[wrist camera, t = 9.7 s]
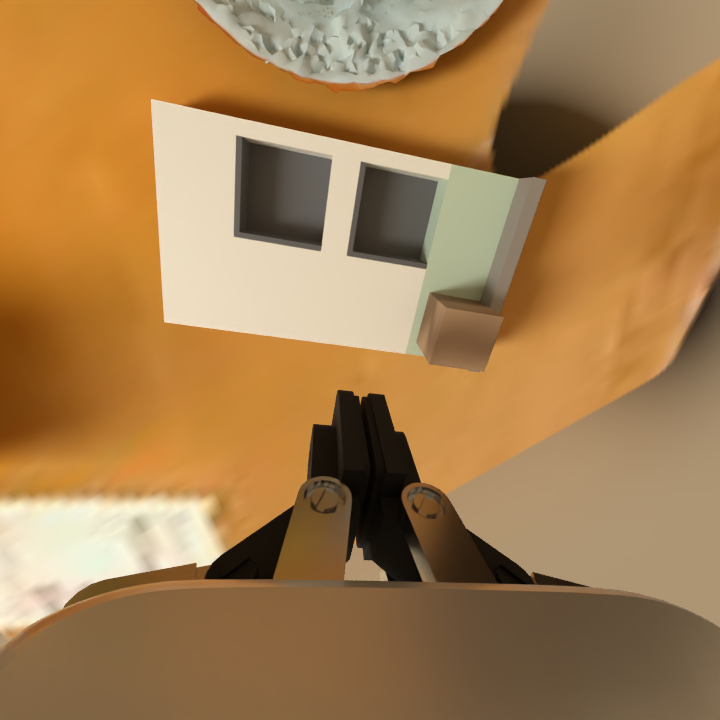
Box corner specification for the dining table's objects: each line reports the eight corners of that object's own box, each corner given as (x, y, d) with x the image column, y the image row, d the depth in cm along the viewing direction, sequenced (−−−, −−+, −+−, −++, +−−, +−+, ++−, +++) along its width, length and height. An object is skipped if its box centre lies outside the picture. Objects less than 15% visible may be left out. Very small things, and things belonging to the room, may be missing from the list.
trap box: (170, 110, 25) (134, 89, 20) (512, 183, 28) (546, 180, 24) (179, 311, 31) (152, 330, 26) (459, 349, 34) (479, 372, 30)
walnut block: (429, 292, 29) (446, 307, 24) (479, 300, 29) (504, 317, 25) (416, 342, 30) (429, 364, 26) (463, 349, 31) (484, 371, 27)
